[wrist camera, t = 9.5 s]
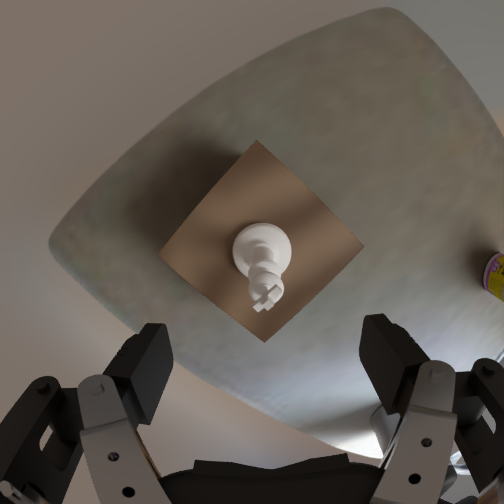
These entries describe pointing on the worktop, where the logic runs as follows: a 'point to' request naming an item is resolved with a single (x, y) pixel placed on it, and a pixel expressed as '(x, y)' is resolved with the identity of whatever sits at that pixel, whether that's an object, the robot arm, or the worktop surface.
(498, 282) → the supplement bottle
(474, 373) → the robot arm
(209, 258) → the small wooden table
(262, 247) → the chess piece
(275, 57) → the worktop surface
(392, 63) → the worktop surface
